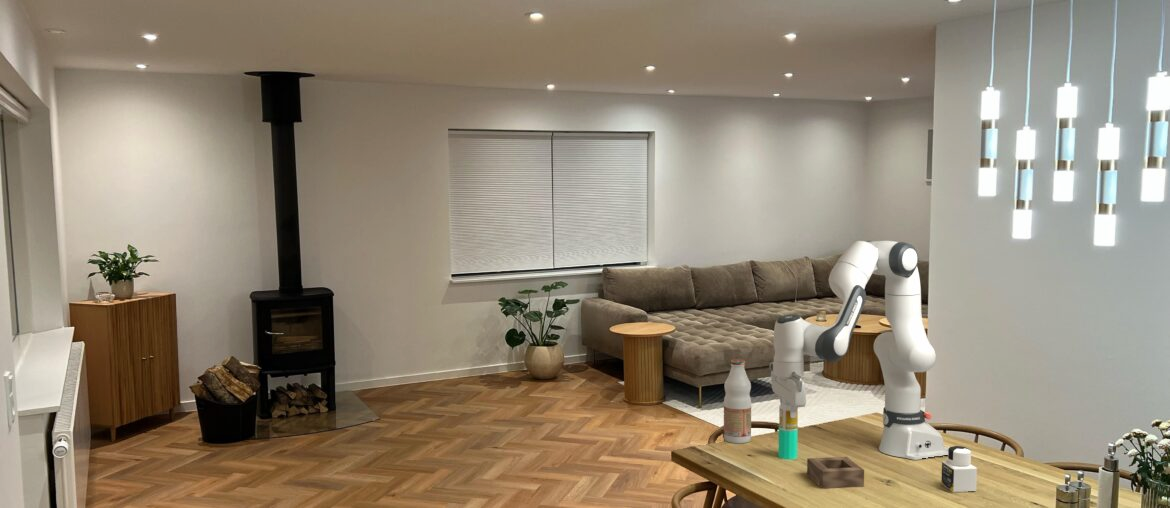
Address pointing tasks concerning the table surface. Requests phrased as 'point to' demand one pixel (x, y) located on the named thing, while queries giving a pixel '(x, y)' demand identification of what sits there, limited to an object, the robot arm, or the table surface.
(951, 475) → the medicine bottle
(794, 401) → the robot arm
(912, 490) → the table surface
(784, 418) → the supplement bottle
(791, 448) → the candle
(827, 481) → the well block
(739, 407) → the fruit juice
